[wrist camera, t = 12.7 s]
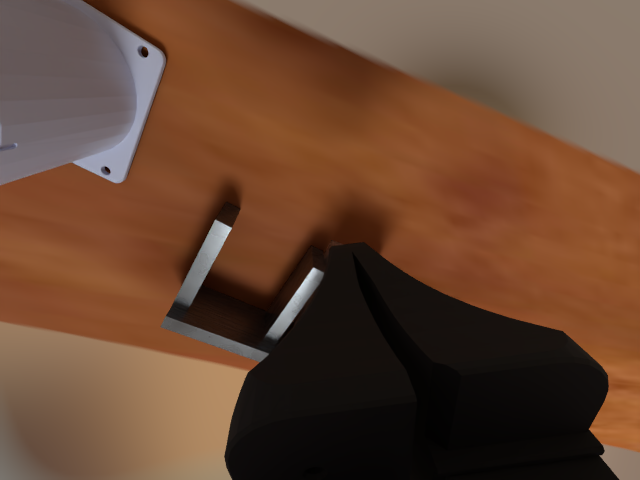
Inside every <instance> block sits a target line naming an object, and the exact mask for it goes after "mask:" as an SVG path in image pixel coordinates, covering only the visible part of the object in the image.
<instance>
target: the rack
mask: <svg viewBox="0 0 640 480" xmlns="http://www.w3.org/2000/svg"><path fill="white" fill-rule="evenodd" d="M239 211H240V208H238V207H236V206H234V205H232V204H230V203H228V202H226V203H225V205H224V207H223V208H222V210H221V211H220V213H219V215H218V216H217V218H216V219H215V221H214V223H213V225H212V227H211V229H210V231H209V233H208V235H207V237H206V239H205V241H204V243H203V245H202V247H201V249H200V251H199V253H198V255H197V257H196V259H195V261H194V263H193V265H192V267H191V269H190V271H189V273H188V275H187V277H186V279H185V281H184V283H183V285H182V287H181V289H180V291H179V293H178V295H177V297H176V299H175V301H174V303H173V305H172V307H171V308H170V310H169V312H168V313H167V315H166V317H165V319H164V321H163V323H162V325H161V327H162V328H165V329H168V330H171V331H173V332H176V333H179V334H182V335H185V336H188V337H190V338H193V339H196V340H199V341H202V342H205V343H207V344H210V345H213V346H216V347H219V348H222V349H224V350H227V351H230V352H233V353H236V354H239V355H241V356H244V357H247V358H250V359H253V360H256V361H258V362H261V361H262V360H263V359H264V358H265V357H266V356H267V355H269V354H270V353H271V352H272V351H273V350H274V349H275V348H276V347H277V346H278V344H279V343H280V342H281V341H282V340H283V339H284V338H285V336H286V335H287V334H288V333H289V332H290V331H291V330H292V328H293V327H294V323H293V322H292V321H293V319H294V318H295V317H296V315H297V314H298V313H299V311H300V310H301V308H302V307H303V306H304V304H305V303H306V302H307V300H308V299H309V298H310V296H311V295H312V293H313V292H314V291H315V289H316V288H317V287H318V285H319V284H320V282H321V280H322V278H323V275H324V272H325V269H326V267H325V261H324V254H323V251H322V250H320V249H318V248H316V247H314V246H312V245H311V246H310V248H309V249H308V251H307V252H306V254H305V255H304V257H303V258H302V260H301V261H300V263H299V264H298V266H297V267H296V269H295V270H294V271H293V273H292V274H291V276H290V277H289V279H288V280H287V282H286V283H285V285H284V286H283V288H282V289H281V291H280V292H279V294H278V295H277V297H276V298H275V300H274V301H273V303H272V304H271V306H270V307H269V308H268V310H267V311H264V310H261V309H259V308H256V307H254V306H252V305H249V304H247V303H244V302H242V301H239V300H237V299H235V298H232V297H230V296H227V295H225V294H222V293H220V292H218V291H215V290H213V289H210V288H208V287H205V286H203V285H201V284H202V283H203V281H204V279H205V277H206V275H207V273H208V271H209V270H210V268H211V266H212V264H213V262H214V260H215V258H216V256H217V255H218V253H219V251H220V249H221V247H222V245H223V243H224V241H225V240H226V238H227V236H228V234H229V232H230V230H231V228H232V226H233V224H234V222H235V220H236V218H237V216H238V214H239Z"/></svg>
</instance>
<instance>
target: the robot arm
mask: <svg viewBox="0 0 640 480" xmlns="http://www.w3.org/2000/svg"><path fill="white" fill-rule="evenodd" d="M144 46H145V47H146V48H147V49H148V52H149V54H148V56H147V57H146V58H145V57H144V56H143V55H142V53H141V49H142V47H144ZM165 65H166V57H165V55H164V53H163V52H162V51H161V50H160V49H159V48H157V47H156V46H154V45H152V44H151V43H149V42H148V41H146V40H144V39H143V38H141V37H140V36H138V35H137V34H135V33H133V32H132V31H130V30H129V29H127V28H125V27H124V26H122V25H121V24H119V23H117V22H116V21H114V20H113V19H111V18H110V17H108V16H106V15H105V14H103V13H102V12H100V11H98V10H97V9H95V8H94V7H92V6H91V5H89V4H87V3H86V2H84V1H83V0H0V185H2V184H5V183H8V182H12V181H15V180H18V179H21V178H24V177H27V176H30V175H33V174H36V173H39V172H43V171H46V170H49V169H52V168H55V167H58V166H61V165H64V164H67V163H70V162H72V163H74V164H76V165H78V166H80V167H82V168H84V169H87V170H89V171H91V172H93V173H95V174H97V175H99V176H101V177H103V178H105V179H108V180H110V181H112V182H115V183H120V182H122V181H124V180H125V179H126V178H127V175H128V172H129V169H130V166H131V163H132V160H133V157H134V155H135V152H136V149H137V146H138V143H139V140H140V137H141V134H142V131H143V129H144V126H145V123H146V120H147V117H148V114H149V111H150V108H151V105H152V103H153V100H154V97H155V94H156V91H157V88H158V85H159V82H160V79H161V77H162V74H163V71H164V68H165ZM105 166H106V167H108V168H109V169H110V171H111V173H108V172H106V170H105ZM608 387H609V385H608V375H607V373H606V372H605V370H604V369H603V368H602V366H601V365H600V364H599V363H598V362H596V361H595V360H594V359H593V358H592V357H591V356H590V355H589V354H588V353H587V352H585V351H584V350H583V349H582V348H581V347H580V346H579V345H578V344H577V343H575V342H574V341H573V340H572V339H571V338H570V337H569V336H568V335H566V334H565V333H564V332H563V331H559V330H555V329H551V328H547V327H543V326H539V325H535V324H531V323H527V322H523V321H519V320H516V319H512V318H509V317H505V316H502V315H499V314H496V313H493V312H490V311H486V310H484V309H481V308H478V307H475V306H472V305H470V304H467V303H465V302H462V301H460V300H457V299H455V298H452V297H450V296H448V295H446V294H443V293H441V292H439V291H437V290H435V289H433V288H431V287H429V286H427V285H425V284H423V283H422V282H420V281H418V280H416V279H414V278H413V277H411V276H410V275H408V274H406V273H405V272H403V271H402V270H400V269H399V268H397V267H396V266H394V265H393V264H392V263H390V262H389V261H387V260H386V259H385V258H383V257H382V256H381V255H380V254H378V253H377V252H376V251H375V250H373V249H372V248H371V247H370V246H368V245H367V244H366V243H364V242H361V243H353V244H345V245H336V246H331V247H330V248H329V257H328V262H327V266H326V269H325V272H324V275H323V278H322V280H321V282H320V285H319V287H318V289H317V291H316V293H315V295H314V297H313V299H312V301H311V302H310V304H309V306H308V307H307V309H306V310H305V312H304V313H303V315H302V316H301V318H300V319H299V321H298V322H297V323H296V325H295V326H294V327H293V328H292V330H291V331H290V332H289V333H288V334H287V335H286V336H285V338H284V339H283V340H282V341H281V342H280V343H279V344H278V346H277V347H276V348H275V349H274V350H273V351H272V352H271V353H270V354H269V355H267V356H266V357H265V358H264V359H263V360H262V361H261V362H260V363H259V364H258V365H257V366H255V367H254V368H253V369H252V370H251V371H249V372H248V374H247V376H246V378H245V381H244V383H243V386H242V389H241V391H240V394H239V397H238V400H237V403H236V406H235V409H234V412H233V416H232V420H231V424H230V430H229V435H228V440H227V446H226V451H225V456H224V457H225V462H226V467H227V469H228V471H229V474H230V476H231V478H232V480H619V479H618V478H617V476H616V475H615V474H614V473H613V472H612V470H611V469H610V468H609V467H608V466H607V464H606V463H605V462H604V461H603V459H602V458H601V457H600V456H599V455H602V454H603V453H604V448H603V445H602V444H601V443H600V442H599V441H598V440H597V438H596V437H595V436H594V435H593V434H592V433H591V431H590V430H589V428H590V426H591V424H592V422H593V421H594V419H595V417H596V415H597V413H598V412H599V410H600V408H601V406H602V404H603V403H604V401H605V398H606V395H607V392H608Z"/></svg>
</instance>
